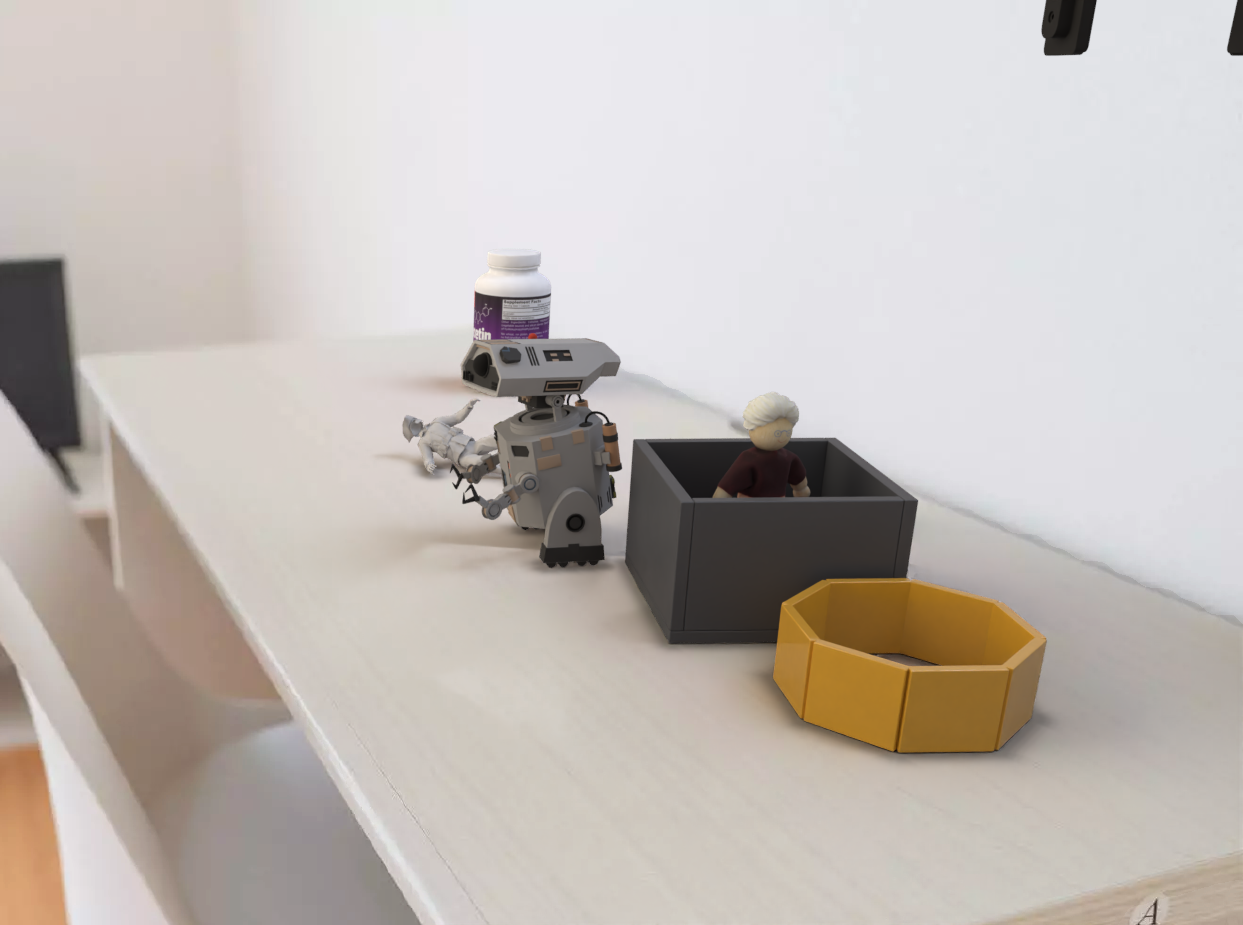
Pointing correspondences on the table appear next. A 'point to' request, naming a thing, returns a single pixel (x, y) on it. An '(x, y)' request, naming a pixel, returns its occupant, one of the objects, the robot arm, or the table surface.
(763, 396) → the grandmother figurine
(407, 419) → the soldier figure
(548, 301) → the pill bottle
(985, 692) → the yellow octagonal ring
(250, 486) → the table surface
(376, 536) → the table surface
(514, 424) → the figurine
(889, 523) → the bin
